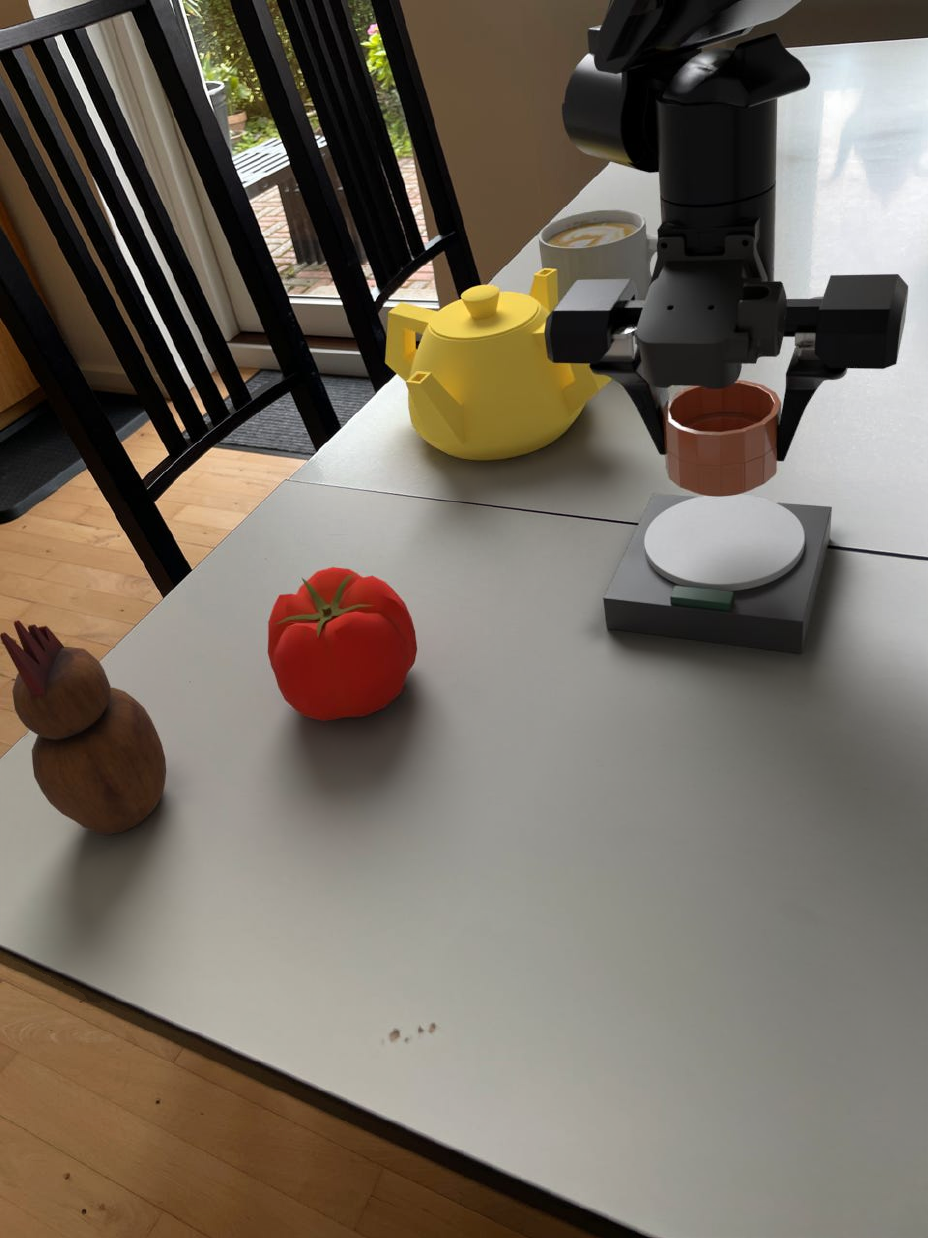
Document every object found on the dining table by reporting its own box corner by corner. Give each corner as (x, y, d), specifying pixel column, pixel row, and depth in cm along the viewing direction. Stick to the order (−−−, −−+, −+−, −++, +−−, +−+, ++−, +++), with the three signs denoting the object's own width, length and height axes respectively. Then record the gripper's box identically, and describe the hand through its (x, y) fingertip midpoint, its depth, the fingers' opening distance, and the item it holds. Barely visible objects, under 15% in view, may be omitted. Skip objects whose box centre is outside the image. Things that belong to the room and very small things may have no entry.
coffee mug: (542, 354, 97) (529, 252, 90) (559, 311, 104) (548, 214, 98) (683, 346, 93) (679, 239, 87) (691, 302, 100) (687, 200, 94)
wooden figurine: (136, 860, 56) (15, 661, 46) (55, 843, 58) (-76, 649, 48) (198, 769, 60) (99, 572, 51) (121, 757, 62) (13, 566, 53)
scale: (829, 537, 67) (832, 498, 65) (801, 654, 59) (803, 613, 57) (654, 522, 72) (652, 485, 70) (606, 628, 64) (602, 590, 62)
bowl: (787, 447, 62) (789, 380, 59) (768, 506, 57) (769, 437, 55) (681, 442, 64) (678, 378, 62) (655, 498, 60) (650, 432, 57)
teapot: (623, 442, 81) (611, 300, 74) (426, 494, 80) (394, 356, 73) (564, 363, 95) (549, 236, 87) (394, 407, 94) (364, 282, 86)
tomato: (348, 629, 69) (319, 540, 64) (451, 665, 64) (428, 571, 59) (254, 717, 63) (215, 627, 59) (359, 763, 58) (326, 669, 54)
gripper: (490, 253, 49) (531, 517, 59) (902, 240, 41) (872, 546, 51) (562, 177, 56) (589, 423, 66) (922, 155, 49) (893, 436, 59)
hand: (721, 454), depth 60 cm, fingers closed on bowl, 7 cm apart
